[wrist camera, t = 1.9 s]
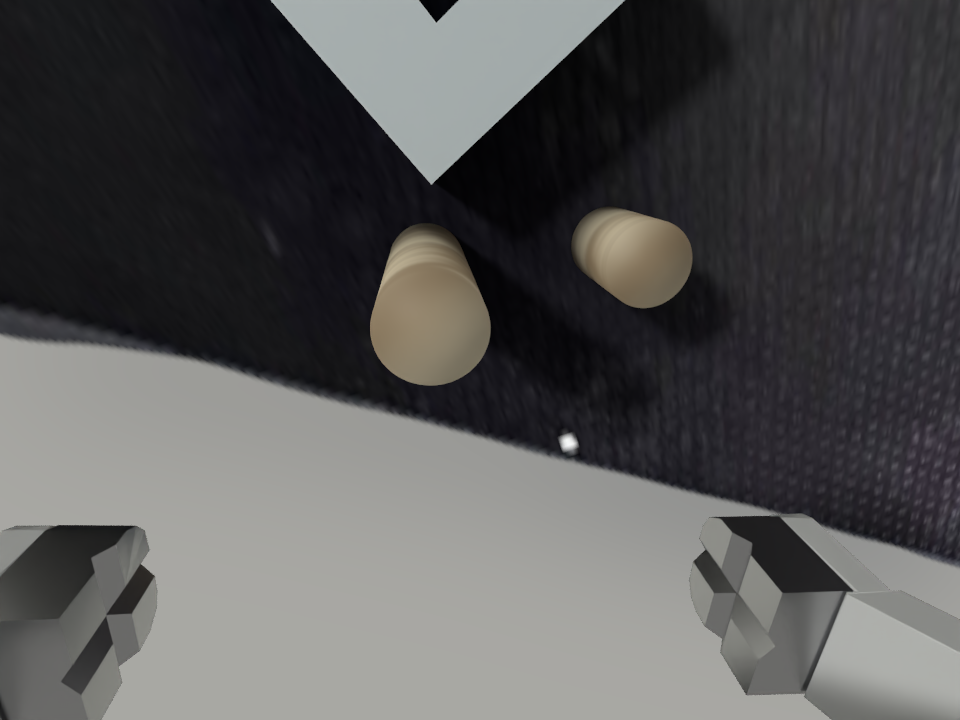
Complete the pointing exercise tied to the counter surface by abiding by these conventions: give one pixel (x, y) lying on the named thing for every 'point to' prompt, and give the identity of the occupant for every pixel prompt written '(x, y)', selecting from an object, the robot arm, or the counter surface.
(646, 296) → the short pin
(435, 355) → the tall pin
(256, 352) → the counter surface
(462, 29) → the hole board
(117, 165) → the counter surface
